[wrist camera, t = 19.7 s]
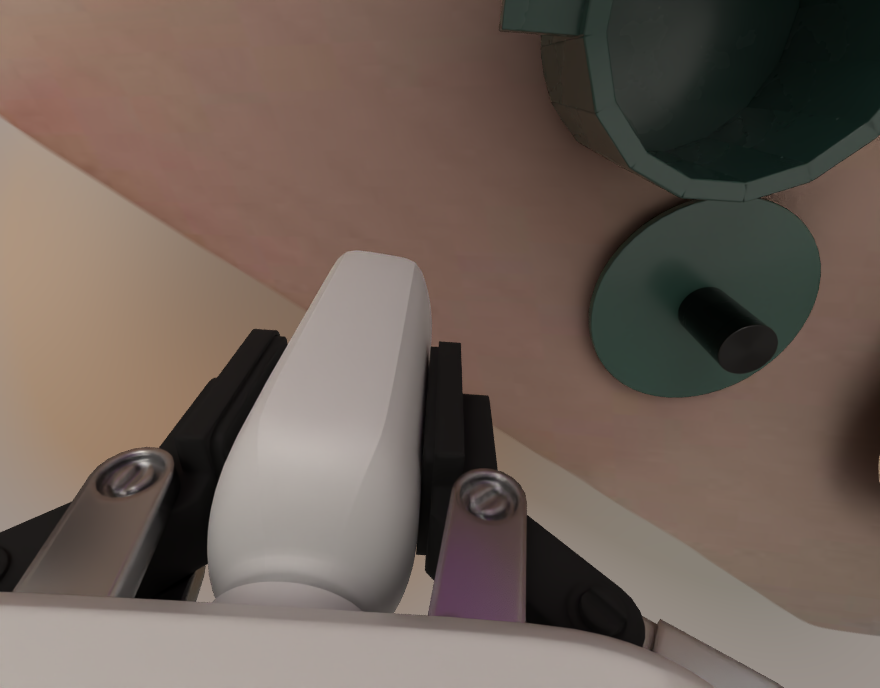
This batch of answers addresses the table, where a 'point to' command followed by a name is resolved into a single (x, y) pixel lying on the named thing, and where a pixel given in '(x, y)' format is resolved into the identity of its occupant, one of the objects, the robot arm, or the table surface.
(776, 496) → the table surface
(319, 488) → the eye dropper bottle
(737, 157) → the pot
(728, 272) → the lid
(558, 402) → the table surface
